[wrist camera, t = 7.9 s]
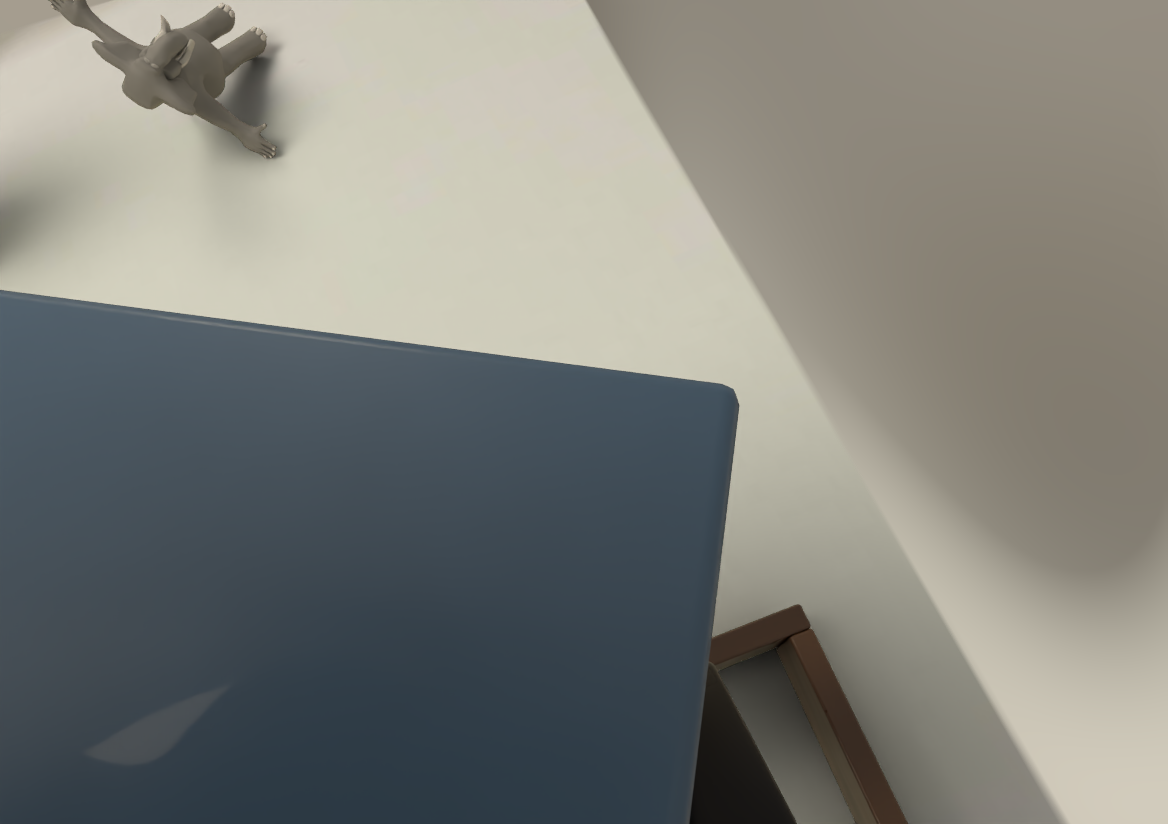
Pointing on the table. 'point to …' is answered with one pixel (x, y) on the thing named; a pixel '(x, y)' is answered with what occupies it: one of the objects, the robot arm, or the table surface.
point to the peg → (346, 577)
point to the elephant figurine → (179, 65)
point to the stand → (817, 707)
